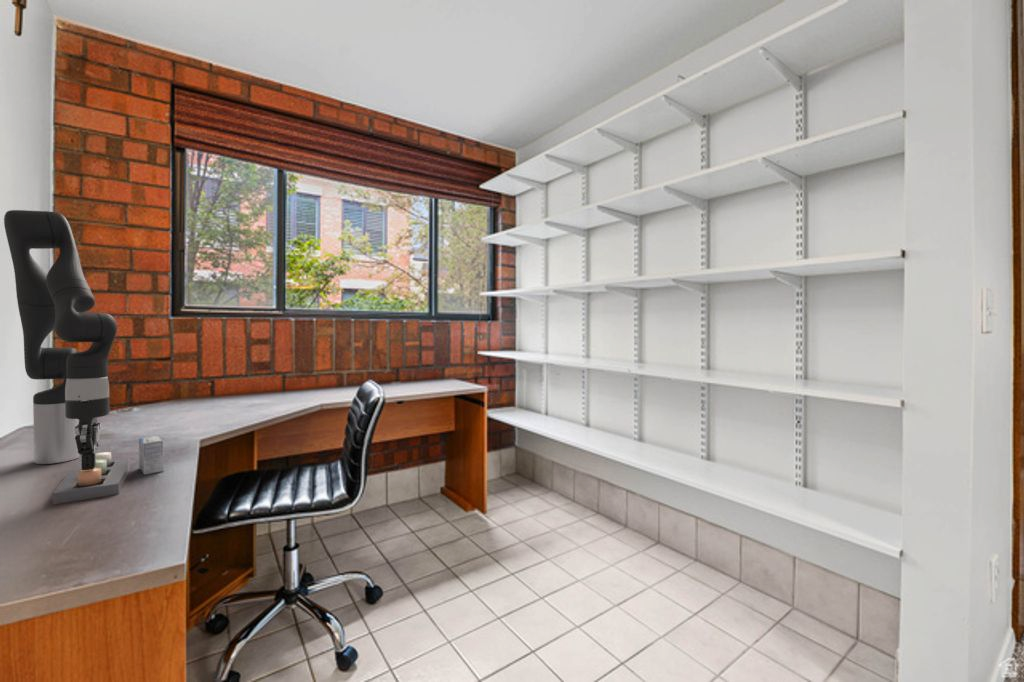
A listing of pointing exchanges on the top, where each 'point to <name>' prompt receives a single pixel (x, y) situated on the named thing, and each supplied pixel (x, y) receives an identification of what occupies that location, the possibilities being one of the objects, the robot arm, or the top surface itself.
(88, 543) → the top surface
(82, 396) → the robot arm
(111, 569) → the top surface
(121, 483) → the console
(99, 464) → the sage button
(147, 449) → the medicine box
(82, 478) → the orange button
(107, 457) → the ivory button
